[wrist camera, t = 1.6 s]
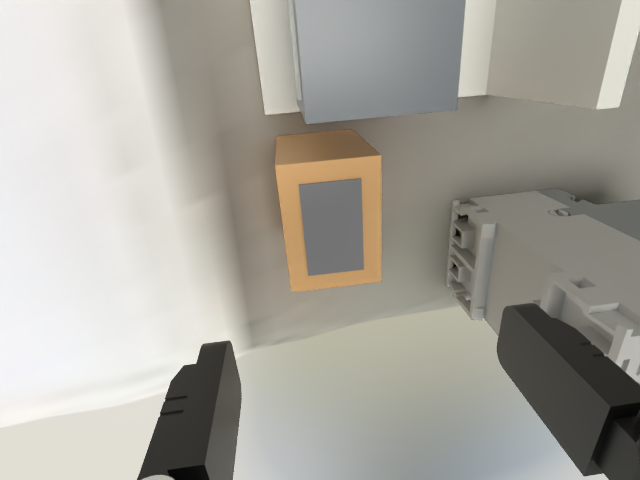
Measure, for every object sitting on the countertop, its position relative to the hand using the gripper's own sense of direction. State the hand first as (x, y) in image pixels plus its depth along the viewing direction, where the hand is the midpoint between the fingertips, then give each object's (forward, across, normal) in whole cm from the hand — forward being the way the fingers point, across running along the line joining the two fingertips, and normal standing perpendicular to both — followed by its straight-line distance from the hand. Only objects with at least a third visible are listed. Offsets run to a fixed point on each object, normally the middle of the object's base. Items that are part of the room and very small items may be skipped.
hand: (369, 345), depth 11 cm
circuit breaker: (+17, -17, +6) cm, 25 cm away
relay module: (+17, 0, 0) cm, 17 cm away
